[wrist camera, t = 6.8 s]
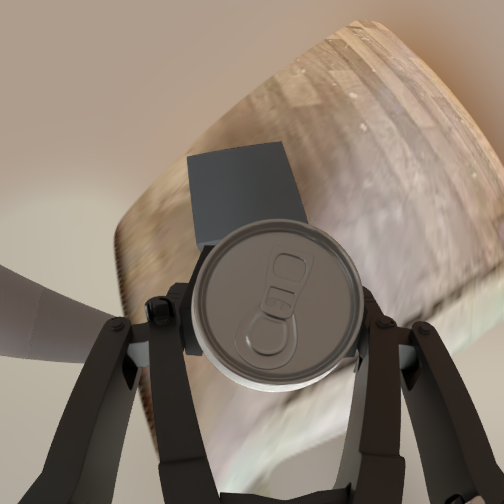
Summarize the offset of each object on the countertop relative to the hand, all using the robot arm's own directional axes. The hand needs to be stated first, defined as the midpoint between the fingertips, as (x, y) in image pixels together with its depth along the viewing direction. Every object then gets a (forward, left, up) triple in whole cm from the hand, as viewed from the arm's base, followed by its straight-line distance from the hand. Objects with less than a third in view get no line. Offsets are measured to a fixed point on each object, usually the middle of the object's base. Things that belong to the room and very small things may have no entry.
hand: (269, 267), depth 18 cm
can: (0, -4, -4) cm, 5 cm away
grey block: (-3, +9, -11) cm, 15 cm away
